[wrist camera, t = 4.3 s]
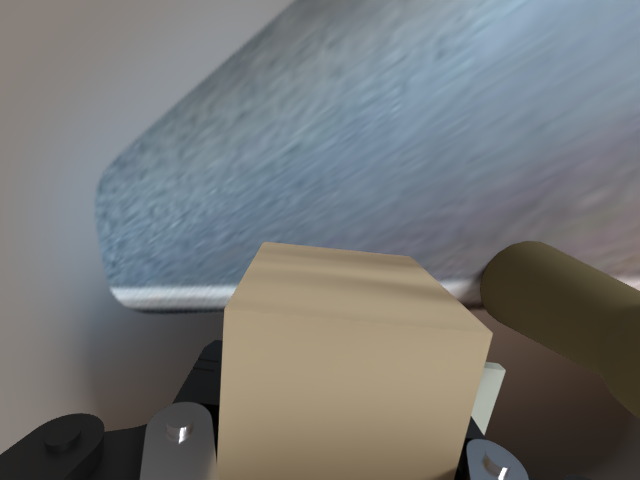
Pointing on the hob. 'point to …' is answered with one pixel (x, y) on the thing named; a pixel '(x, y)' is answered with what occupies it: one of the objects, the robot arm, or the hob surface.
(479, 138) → the hob surface
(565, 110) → the hob surface
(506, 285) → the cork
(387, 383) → the oak block
